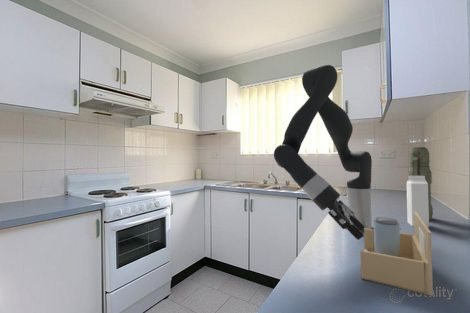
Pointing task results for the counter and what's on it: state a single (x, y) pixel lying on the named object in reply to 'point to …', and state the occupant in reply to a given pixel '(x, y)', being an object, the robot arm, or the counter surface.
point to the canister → (387, 236)
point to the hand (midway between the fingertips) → (361, 233)
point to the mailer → (401, 261)
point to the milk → (417, 199)
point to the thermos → (422, 169)
